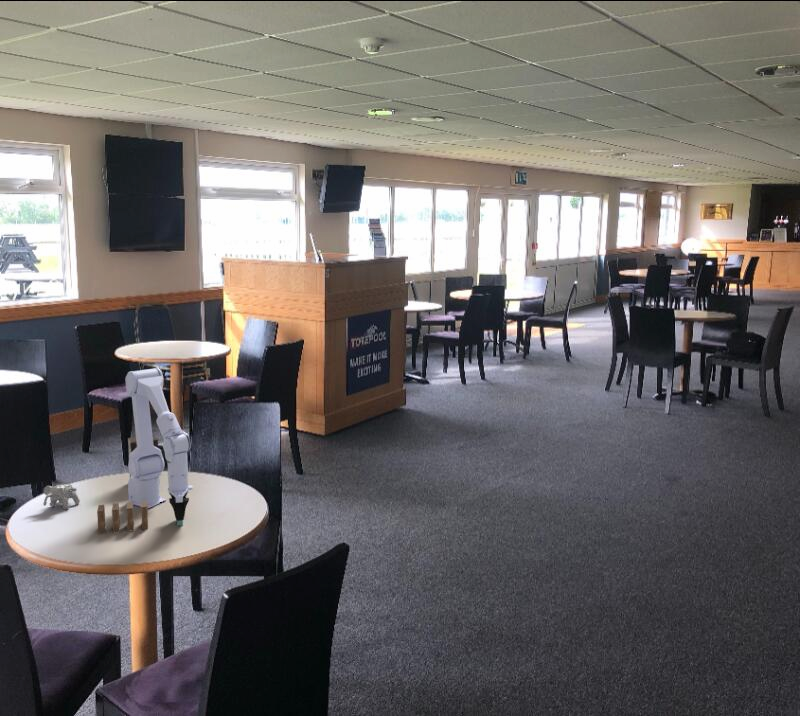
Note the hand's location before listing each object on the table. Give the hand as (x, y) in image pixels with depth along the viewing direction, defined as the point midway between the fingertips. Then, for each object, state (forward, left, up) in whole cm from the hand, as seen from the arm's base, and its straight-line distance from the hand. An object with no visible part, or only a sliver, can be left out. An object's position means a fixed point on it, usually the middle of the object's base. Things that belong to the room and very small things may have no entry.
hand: (179, 516), depth 228 cm
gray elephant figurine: (-40, -10, -2) cm, 41 cm away
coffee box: (-34, +19, -2) cm, 39 cm away
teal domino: (0, 0, -2) cm, 2 cm away
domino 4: (-7, -7, -2) cm, 10 cm away
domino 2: (-13, -13, -2) cm, 18 cm away
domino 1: (-16, -16, -2) cm, 22 cm away
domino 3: (-10, -10, -2) cm, 14 cm away
